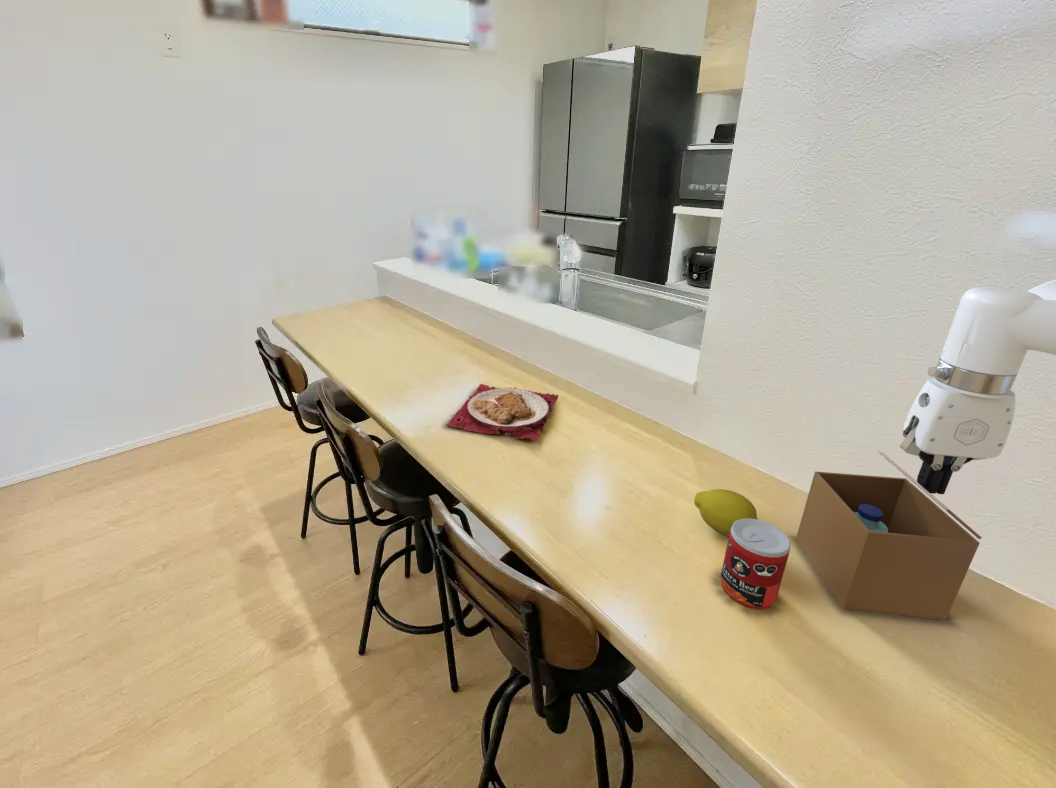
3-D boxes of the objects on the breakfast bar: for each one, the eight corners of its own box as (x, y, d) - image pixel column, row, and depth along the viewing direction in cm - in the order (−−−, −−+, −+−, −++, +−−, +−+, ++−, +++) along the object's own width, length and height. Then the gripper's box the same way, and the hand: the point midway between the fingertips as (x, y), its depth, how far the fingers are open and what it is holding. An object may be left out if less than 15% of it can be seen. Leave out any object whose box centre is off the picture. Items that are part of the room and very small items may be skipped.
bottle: (859, 560, 83) (880, 499, 79) (882, 589, 78) (906, 525, 73) (820, 556, 84) (839, 496, 80) (840, 584, 79) (861, 521, 74)
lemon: (762, 535, 90) (771, 498, 87) (746, 556, 85) (755, 519, 82) (702, 506, 97) (709, 471, 95) (684, 524, 92) (690, 488, 90)
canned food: (708, 583, 80) (720, 528, 76) (739, 564, 83) (752, 511, 79) (754, 619, 73) (770, 561, 70) (786, 598, 77) (802, 541, 73)
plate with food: (558, 401, 141) (559, 390, 140) (536, 444, 118) (536, 431, 117) (480, 388, 150) (480, 378, 148) (445, 426, 127) (445, 414, 126)
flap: (905, 475, 82) (908, 474, 81) (979, 539, 68) (982, 538, 68) (877, 451, 81) (879, 450, 81) (946, 510, 67) (948, 509, 67)
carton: (881, 547, 87) (905, 478, 82) (945, 620, 73) (980, 542, 68) (795, 538, 89) (814, 471, 84) (842, 608, 75) (868, 532, 70)
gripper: (931, 385, 65) (890, 499, 72) (1062, 392, 63) (1008, 509, 70) (893, 363, 72) (859, 469, 79) (1011, 369, 70) (966, 477, 76)
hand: (929, 488), depth 74 cm, fingers closed
